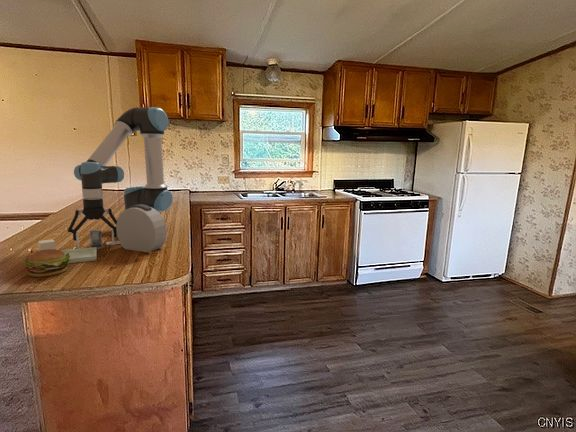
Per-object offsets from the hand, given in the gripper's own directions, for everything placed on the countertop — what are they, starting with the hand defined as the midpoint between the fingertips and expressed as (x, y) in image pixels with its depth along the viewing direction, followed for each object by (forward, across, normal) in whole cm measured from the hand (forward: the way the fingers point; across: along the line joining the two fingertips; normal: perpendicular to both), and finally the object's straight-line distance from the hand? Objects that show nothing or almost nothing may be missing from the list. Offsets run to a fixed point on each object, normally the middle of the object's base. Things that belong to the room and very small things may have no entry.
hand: (96, 245), depth 153 cm
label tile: (+1, -7, -6) cm, 9 cm away
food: (+2, +15, +27) cm, 31 cm away
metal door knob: (+1, 0, 0) cm, 1 cm away
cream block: (+1, +18, 0) cm, 18 cm away
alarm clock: (+1, -18, +8) cm, 20 cm away
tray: (+1, +7, +12) cm, 14 cm away
